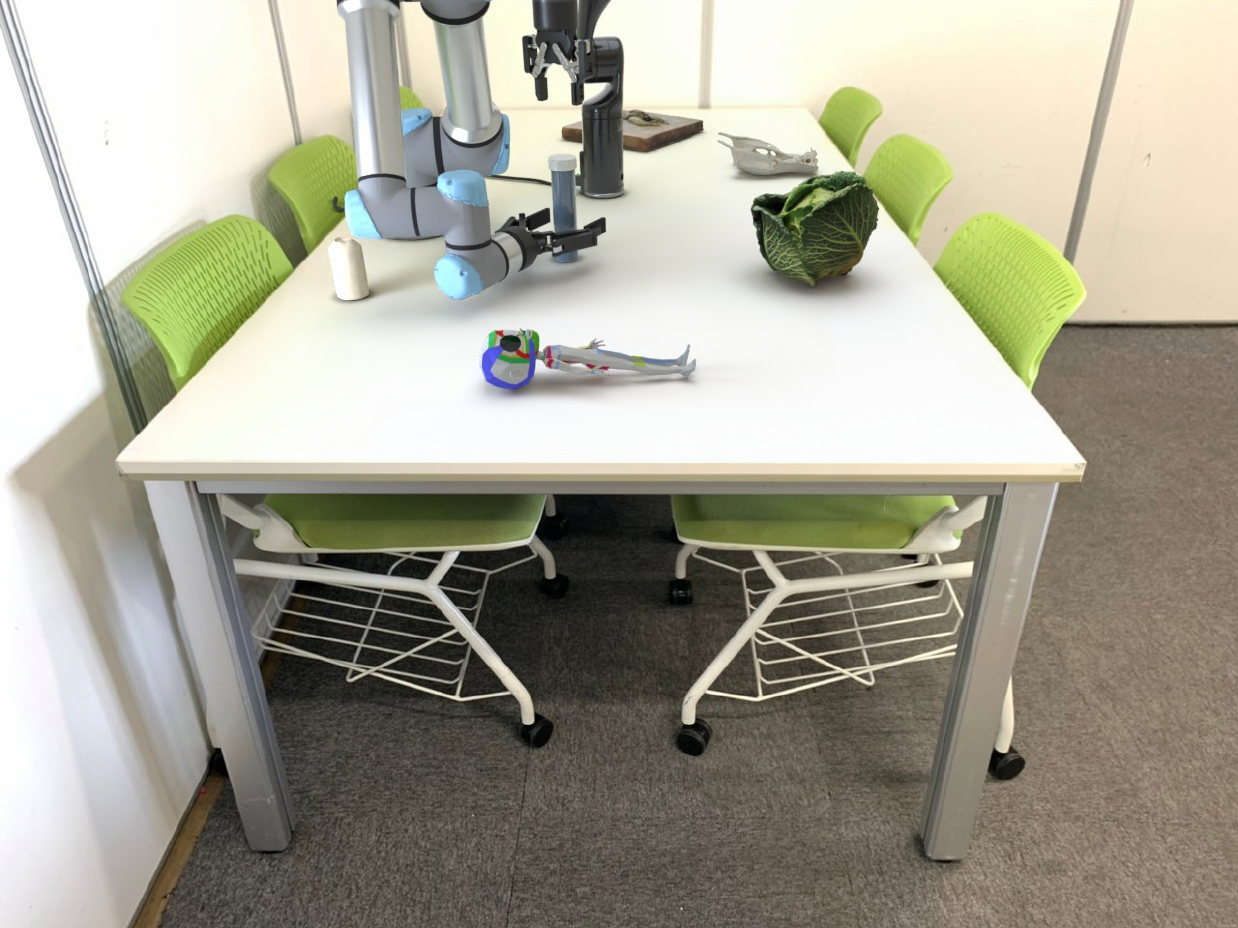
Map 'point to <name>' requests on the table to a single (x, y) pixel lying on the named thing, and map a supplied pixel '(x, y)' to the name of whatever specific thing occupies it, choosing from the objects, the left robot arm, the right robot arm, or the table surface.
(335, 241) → the candle
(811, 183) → the vegetable
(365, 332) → the table surface
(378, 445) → the table surface
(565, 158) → the lid
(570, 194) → the blue slim bottle
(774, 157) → the anatomical model
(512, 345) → the toy
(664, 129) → the plaque
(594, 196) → the right robot arm
